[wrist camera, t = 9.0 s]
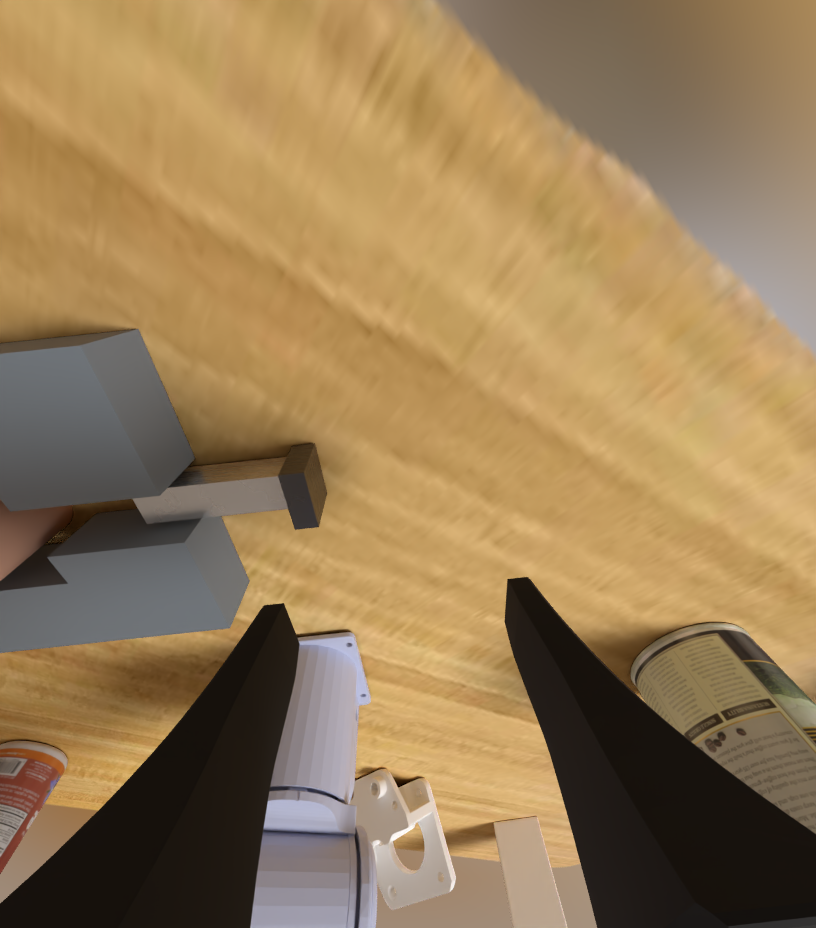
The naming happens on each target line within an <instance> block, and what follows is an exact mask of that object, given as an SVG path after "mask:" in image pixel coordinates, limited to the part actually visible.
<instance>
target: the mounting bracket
mask: <svg viewBox="0 0 816 928" xmlns="http://www.w3.org/2000/svg"><path fill="white" fill-rule="evenodd" d="M420 791H421V793H420ZM353 792H354V796H353V799H352V798H351V800H350V803H349V805H356V825H361V826H362V827H364V829H365V831H366V833H367V835H368V838H369V840H370V842H371V844H372V846H373V850H374V854H375V861H376V871H377V883H378V885H379V888H380V890H381V893H382V895H383V897H384V900H385V903H386V904H387V905H388V907H390V909H391V910H395V909H398V908H401V907H405V906H408V905H411V904H414V903H417V902H420V901H424V900H427V899H430V898H433V897H437V896H440V895H443V894H446V893H449V892H450V891H451V890H452V889H453V888H454V884H455V880H456V876H455V872H454V869H453V866H452V862H451V858H450V855H449V851H448V847H447V844H446V840H445V837H444V833H443V830H442V826H441V823H440V819H439V815H438V812H437V808H436V805H435V801H434V798H433V794H432V791H431V787H430V784H429V782H428V781H427V780H426V779H425V778H419V779H416V780H414V781H412V782H410V783H407V784H405V785H403V786H400V787H397V785H396V783H395V781H394V779H393V776H392V775H391V773H390V772H389V771H388V770H387V769H380V770H377V771H375V772H373V773H371V774H369V775H367V776H365V777H362V778H360V779H358V780H356V781H355V784H354V790H353ZM417 822H418V824H419V826H420V828H421V831H422V834H423V838H424V846H425V851H424V859H423V862H422V865H421V867H420V869H419V870H417V871H412V870H409V869H407V868H406V867H405V866H404V865H403V864H402V863H401V861H400V860H399V858H398V856H397V854H396V851H395V848H394V844H393V841H394V840H396V839H397V838H399V837H400V836H402V835H404V834H405V833H407V832H408V831H410V830H411V829H413V828H414V827H415V823H417ZM442 874H443V876H444V877H443V876H442ZM394 888H395V889H396V893H395V890H394Z"/></svg>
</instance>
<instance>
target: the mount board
mask: <svg viewBox="0 0 816 928" xmlns="http://www.w3.org/2000/svg"><path fill="white" fill-rule="evenodd" d="M194 459H195V457H194V454H193V452H192V450H191V447H190V445H189V443H188V441H187V438H186V436H185V434H184V432H183V429H182V427H181V425H180V423H179V420H178V418H177V416H176V413H175V411H174V409H173V407H172V404H171V402H170V400H169V398H168V395H167V393H166V391H165V389H164V386H163V384H162V382H161V380H160V377H159V375H158V373H157V370H156V368H155V366H154V364H153V361H152V359H151V357H150V355H149V352H148V350H147V348H146V346H145V343H144V341H143V339H142V336H141V334H140V332H139V330H138V329H134V330H124V331H114V332H105V333H95V334H85V335H76V336H66V337H57V338H47V339H37V340H28V341H18V342H8V343H0V500H1V501H2V502H3V503H4V505H5V506H6V507H7V508H8V510H9V511H10V512H12V511H21V510H31V509H40V508H50V507H59V506H68V505H78V504H87V503H97V502H106V501H116V500H125V499H134V498H144V497H153V496H160V495H161V494H162V493H163V492H164V491H165V490H166V489H167V488H168V487H169V486H170V485H171V484H172V482H173V481H174V480H175V479H176V478H177V477H178V476H179V475H180V474H181V473H182V472H183V471H184V470H185V469H186V468H187V467H188V466H189V465H190V464H191V462H192V461H193V460H194ZM248 584H249V579H248V577H247V574H246V572H245V570H244V567H243V565H242V563H241V561H240V558H239V556H238V554H237V552H236V549H235V547H234V545H233V543H232V540H231V538H230V536H229V534H228V531H227V529H226V527H225V524H224V522H223V520H222V518H221V516H216V517H207V518H198V519H188V520H179V521H169V522H160V523H151V524H147V523H146V522H145V520H144V518H143V516H142V515H141V513H140V511H139V509H133V510H123V511H114V512H104V513H97V514H95V515H94V516H93V517H92V518H91V519H90V520H89V521H87V522H86V523H85V524H84V525H83V526H82V527H81V528H80V529H78V530H77V531H76V532H75V533H74V534H73V535H72V536H70V537H69V538H68V539H67V540H66V541H65V542H64V543H60V544H50V545H43V546H42V547H40V548H39V549H38V550H37V551H36V552H34V553H33V554H32V555H31V556H30V557H29V558H27V559H26V560H25V561H24V562H23V563H21V564H20V565H19V566H18V567H17V568H15V569H14V570H13V571H12V572H11V573H9V574H8V575H7V576H6V577H5V578H3V579H2V580H1V581H0V653H4V652H13V651H22V650H32V649H41V648H50V647H59V646H69V645H78V644H87V643H97V642H106V641H115V640H124V639H134V638H143V637H152V636H161V635H171V634H180V633H189V632H199V631H208V630H217V629H226V628H230V627H231V624H232V622H233V620H234V617H235V615H236V612H237V610H238V608H239V605H240V603H241V601H242V598H243V596H244V593H245V591H246V589H247V586H248Z"/></svg>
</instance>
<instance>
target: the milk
mask: <svg viewBox="0 0 816 928" xmlns="http://www.w3.org/2000/svg"><path fill="white" fill-rule="evenodd" d="M494 830H495V836H496V842H497V847H498V852H499V858H500V863H501V868H502V873H503V879H504V883H505V889H506V894H507V899H508V904H509V910H510V915H511V920H512V925H513V928H567V924H566V920H565V917H564V913H563V909H562V906H561V902H560V898H559V895H558V891H557V888H556V884H555V880H554V877H553V873H552V869H551V865H550V862H549V858H548V855H547V851H546V847H545V844H544V840H543V836H542V833H541V829H540V825H539V822H538V818H537V816H535V817H528V818H521V819H514V820H507V821H500V822H494Z"/></svg>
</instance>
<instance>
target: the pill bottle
mask: <svg viewBox="0 0 816 928" xmlns="http://www.w3.org/2000/svg"><path fill="white" fill-rule="evenodd" d="M67 764H68V760H67V757H66V755H65V754H64V753H63V752H62V751H61V750H59V749H57V748H55V747H52V746H49V745H46V744H42V743H38V742H31V741H11V742H7V743H4V744H1V745H0V874H1V872H2V870H3V869H4V867H5V866H6V864H7V862H8V861H9V859H10V858H11V856H12V854H13V853H14V851H15V850H16V848H17V846H18V845H19V843H20V842H21V840H22V838H23V837H24V835H25V833H26V832H27V830H28V829H29V827H30V826H31V824H32V822H33V821H34V819H35V817H36V816H37V814H38V813H39V811H40V809H41V808H42V806H43V805H44V803H45V801H46V800H47V798H48V797H49V795H50V793H51V792H52V790H53V789H54V787H55V785H56V784H57V782H58V781H59V779H60V777H61V776H62V774H63V773H64V771H65V769H66V767H67Z"/></svg>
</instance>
